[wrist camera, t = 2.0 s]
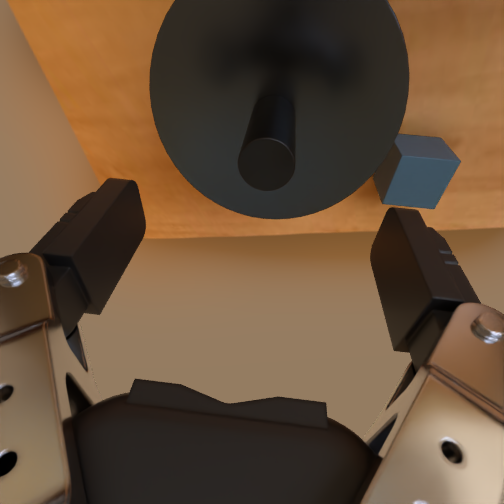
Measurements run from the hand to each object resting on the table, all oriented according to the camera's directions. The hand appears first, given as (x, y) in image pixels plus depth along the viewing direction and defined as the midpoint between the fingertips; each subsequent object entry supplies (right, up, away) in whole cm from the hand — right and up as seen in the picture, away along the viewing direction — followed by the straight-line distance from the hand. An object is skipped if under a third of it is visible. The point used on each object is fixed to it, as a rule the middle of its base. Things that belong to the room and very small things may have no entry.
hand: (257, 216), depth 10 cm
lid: (+1, +7, +7) cm, 10 cm away
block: (+14, +7, +18) cm, 23 cm away
